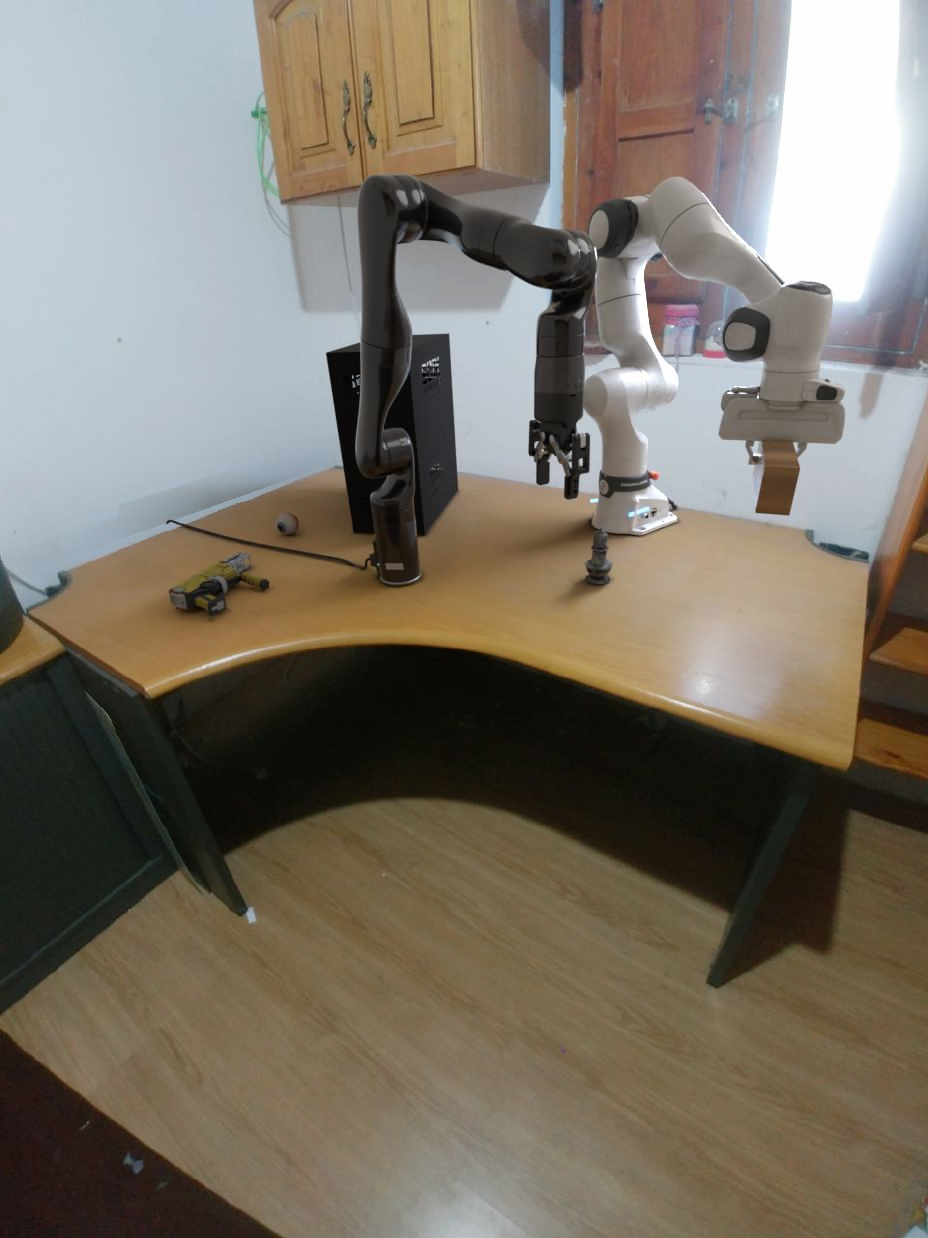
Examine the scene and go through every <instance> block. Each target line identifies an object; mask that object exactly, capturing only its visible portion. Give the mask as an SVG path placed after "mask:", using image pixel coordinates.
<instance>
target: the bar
mask: <svg viewBox="0 0 928 1238" xmlns="http://www.w3.org/2000/svg"><path fill="white" fill-rule="evenodd" d="M757 445H758V446H757V450H756V454H758V459H757V464H756V465H753V471H752V477H753V478H752V479H753V481H752V482H753V498H754V513H755V514H764V515H775V516H787V517H789V516H790V515H791V510H792V506H793V500H794V499H795V498H794V497H795V493H796V488H797V484H798V480H799V475H800V472H801V466H800V462H799V459H798V458H799V457H798V458H797V455H796V448H795V443H794V442H793V441H780V440H762V441H758V444H757Z"/></svg>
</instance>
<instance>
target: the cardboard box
mask: <svg viewBox="0 0 928 1238" xmlns="http://www.w3.org/2000/svg"><path fill="white" fill-rule="evenodd" d="M450 342H451V340H450V333H429V334H428V333H424V334H423V333H422V334H412V352H411V364H410V370H409V373H408V376H407V378H406V380H405V382H404V384H403V386H402V387H401V389H400V391H399V393H398V394H397V396H396V398H395V399H394V401H393V403H392V404H391V406H390V408H389V410H388V413H387V416H386V419H385V423H384V429H385V428H390V427H401V428H403V429H404V430H405V431H406V432H407V434H408V435H409V437H410V440H411V443H412V447H413V454H414V475H415V493H414V509H415V519H416V529H417V536H426V534H428V532H429V531H430V529H431V528H432V526H433V525H434V524H435V522H436V521H437V520H438V519H439V517H440V515H441V514H442V513H443V512H444V510H445V509H446V507H447V506H448V505H449V503H450V502H451V501H452V500H453V498H454V497H455V495H456V494H457V493H458V491H459V481H458V480H459V479H458V461H457V446H456V444H457V443H456V427H455V409H454V407H455V406H454V393H453V392H454V390H453V375H452V357H451V343H450ZM325 356H326V362H327V364H326V365H327V370H328V374H329V383H330V390H331V396H332V402H333V409H334V415H335V421H336V428H337V429H336V430H337V435H338V441H339V448H340V454H341V455H340V456H341V461H342V469H343V474H344V482H345V487H346V493H347V499H348V508H349V513H350V514H349V515H350V520H351V526H352V527H351V528H352V532H353V533H355V534H356V533H357V534H375V531H374V524H373V517H372V509H371V502H370V496H371V494H372V492H373V491H374V490H376V489H377V488H378V487H379V486H381V485H382V483H383V482H384V481H385V479H386V478H387V476H385V477H381V478H376V479H369V478H366V477H365V476H364V475H363V474H362V473H361V472H360V470H359V467H358V464H357V460H356V452H355V444H356V432H357V423H358V414H359V404H360V380H361V363H360V342H359V341H358V342H355V343H353V344H350V345H347V346H343V347H339V348H337V349H333V350H330V351H327V352H325ZM433 360H434V361H433ZM423 365H425V366H423Z"/></svg>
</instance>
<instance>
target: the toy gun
mask: <svg viewBox="0 0 928 1238" xmlns="http://www.w3.org/2000/svg"><path fill="white" fill-rule="evenodd" d="M248 559H249V563H248V564H247V563H245V561H247V560H248ZM251 562H252V561H251V555H250V554H249V553H248V552H246V551H245V552H244V553H243V551H238V552H237V553H234V554H232V555H231V556H229V557H227V558H225V559H224V560H220V561H218V562H216V563H215V564H213V565H211V566H209V567H207V568H206V569H204V570H202V571H200V572H198V573H196V574H195V575H192V576H191V577H189V578H187V579H186V580H183V581H181V582H180V583H178V584H176V585H174V586H173V587H170V588H169V589H168V594H169V599H170V603H171V605H172V606H173V607H174V608H175V610H179V611H184V610H187V611H189V610H195V609H199V608H202V609H205V610H206V611H208V616H209V617H214V616H216V615H218V614H220V613H223V611H225V610H227V603H226V597H225V595H226V594H227V593H228V591H229V588H231V587H233V586H236V585H238V584H239V583H241V582H242V583H245V584H247V585H250V586H252V587H255V588H258V589H260V590H261V591H266V590H268V589H269V588H270V581H269V579H267V578H262V577H260V576H257V575H254V574H251V573H249V572H247V571H246V572H244V571H245V570H246V569H248V568H251V567H252V563H251ZM242 572H243V573H242ZM240 573H242V574H241V575H240Z"/></svg>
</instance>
